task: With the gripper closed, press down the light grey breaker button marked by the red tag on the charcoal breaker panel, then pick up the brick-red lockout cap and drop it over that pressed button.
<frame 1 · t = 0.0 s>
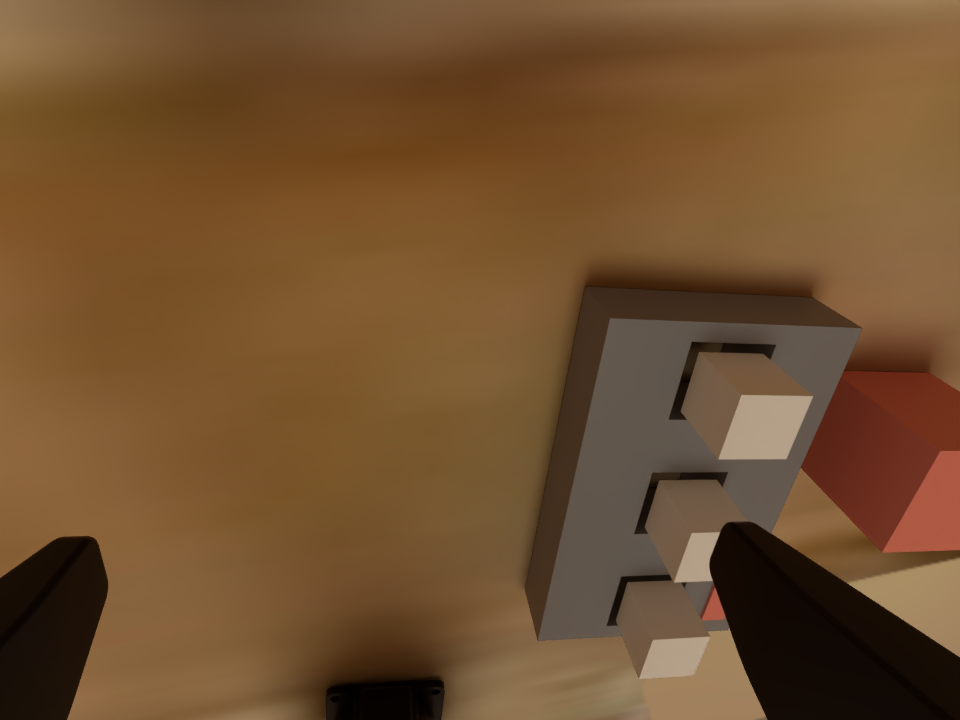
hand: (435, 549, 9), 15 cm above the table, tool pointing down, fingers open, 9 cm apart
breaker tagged: (660, 627, 27), point 4 cm above the table, slide at 0.0 cm
breaker panel: (652, 460, 28), on the table
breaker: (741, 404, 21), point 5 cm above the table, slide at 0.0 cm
lockout cap: (859, 417, 28), on the table
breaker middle: (696, 529, 24), point 5 cm above the table, slide at 0.0 cm
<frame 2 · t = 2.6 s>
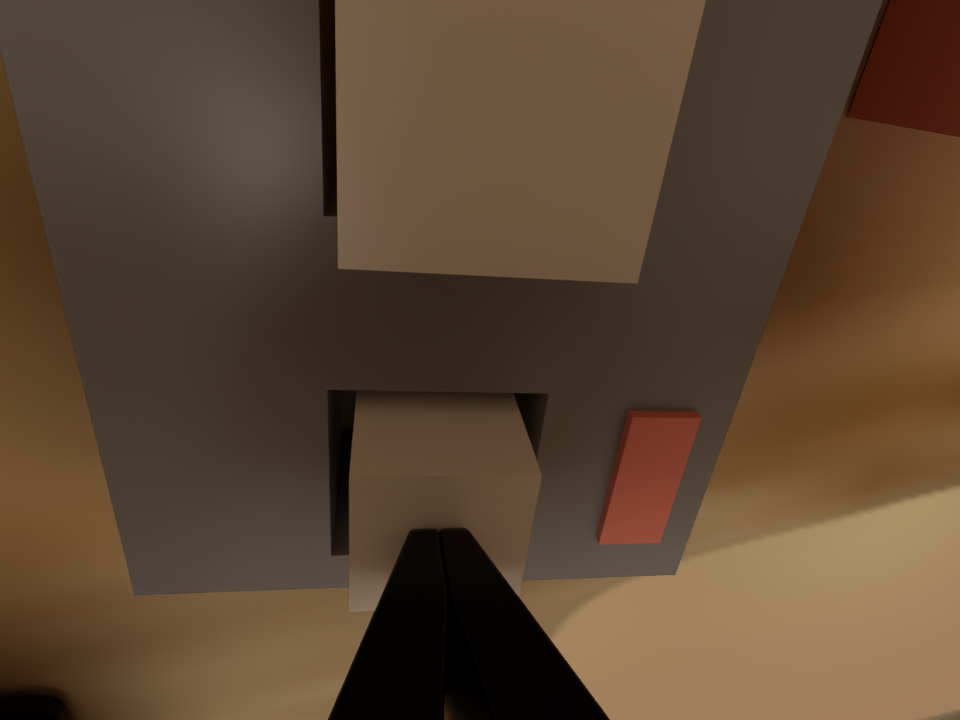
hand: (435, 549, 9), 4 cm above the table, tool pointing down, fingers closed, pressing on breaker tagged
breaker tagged: (434, 479, 10), point 3 cm above the table, slide at 1.5 cm, touching gripper
breaker panel: (446, 70, 10), on the table
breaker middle: (485, 95, 6), point 4 cm above the table, slide at 0.0 cm
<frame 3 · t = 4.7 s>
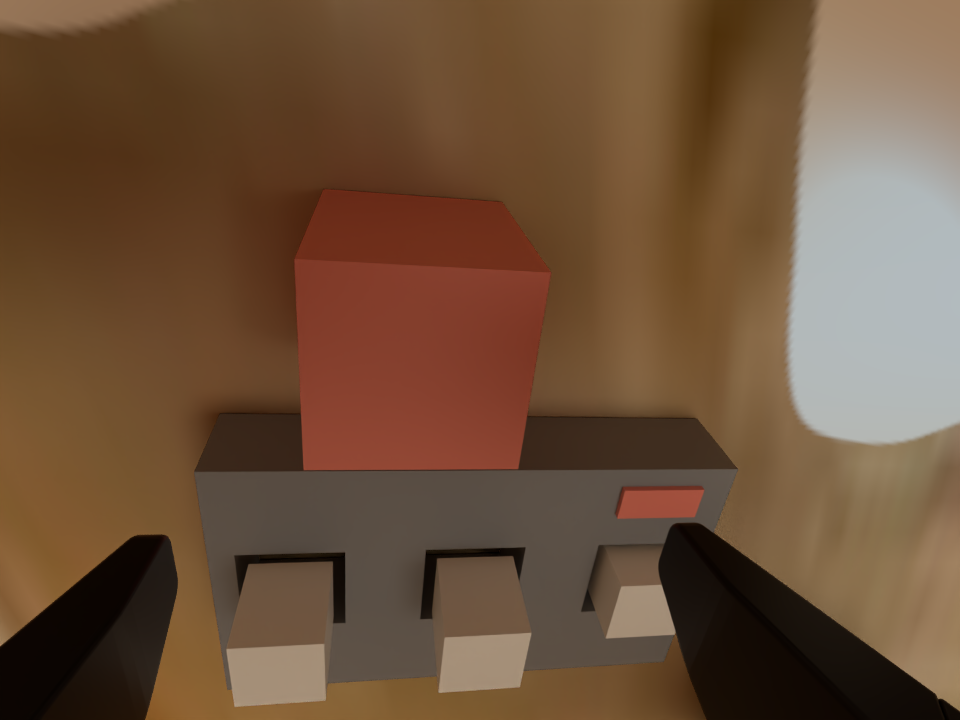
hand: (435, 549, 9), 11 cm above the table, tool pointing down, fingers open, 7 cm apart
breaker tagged: (633, 577, 22), point 3 cm above the table, slide at 1.6 cm
breaker panel: (462, 522, 23), on the table
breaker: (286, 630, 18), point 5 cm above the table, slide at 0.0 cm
lockout cap: (410, 279, 18), on the table
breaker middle: (477, 621, 19), point 5 cm above the table, slide at 0.0 cm
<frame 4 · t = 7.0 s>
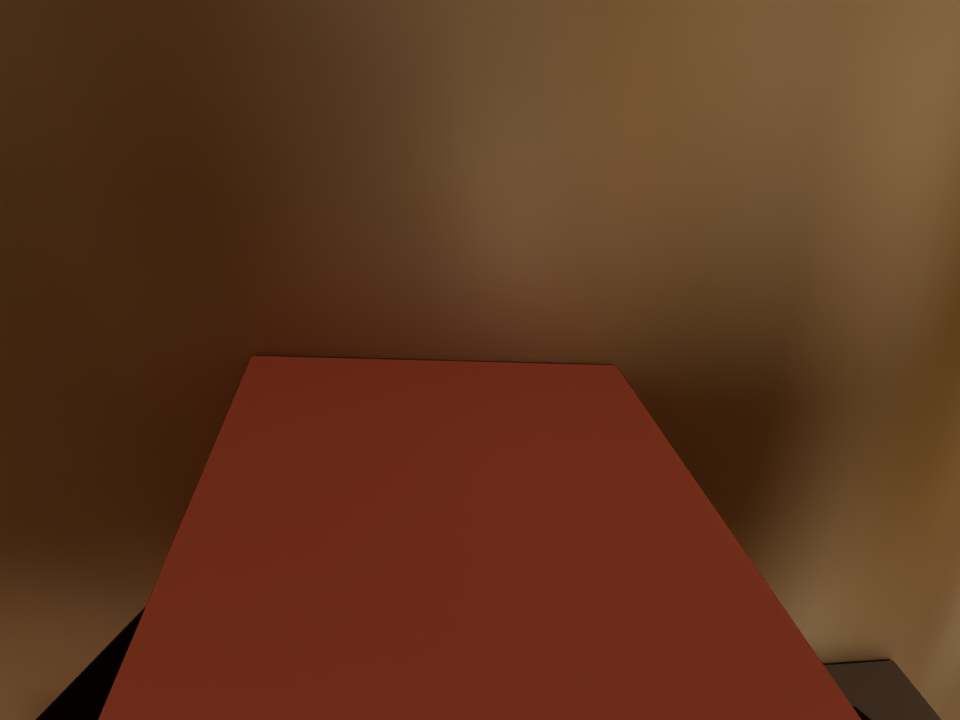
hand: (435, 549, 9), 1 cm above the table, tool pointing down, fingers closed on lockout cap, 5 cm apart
lockout cap: (431, 500, 9), on the table, touching gripper
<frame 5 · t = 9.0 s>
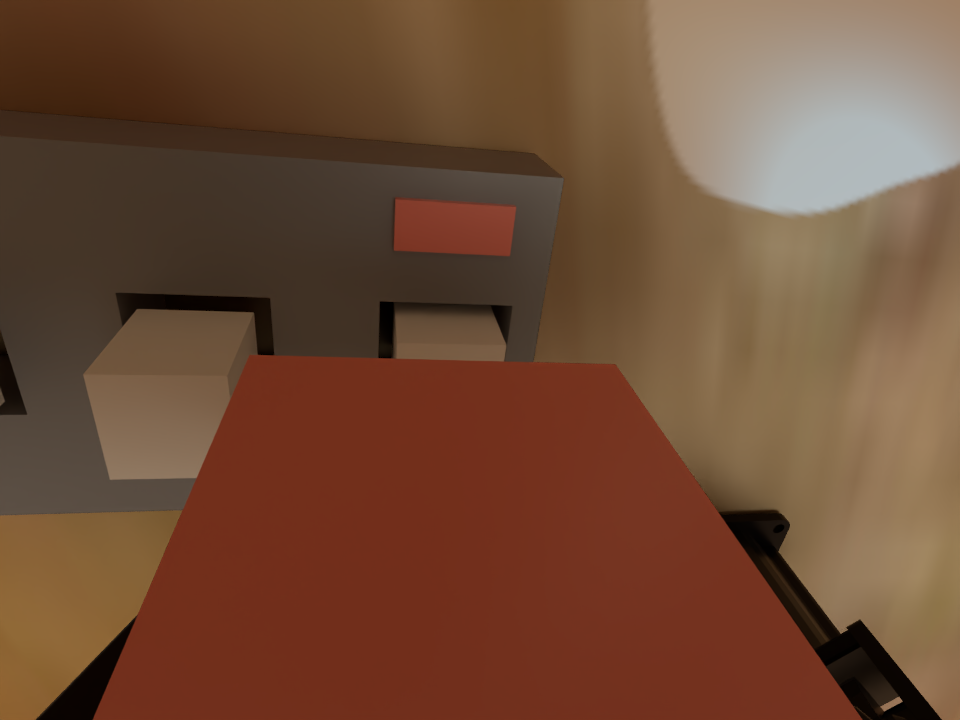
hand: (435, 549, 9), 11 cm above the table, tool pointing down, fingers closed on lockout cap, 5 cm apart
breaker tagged: (442, 360, 16), point 3 cm above the table, slide at 1.6 cm
breaker panel: (228, 308, 17), on the table
lockout cap: (430, 500, 9), point 10 cm above the table, touching gripper
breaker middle: (186, 390, 13), point 4 cm above the table, slide at 0.0 cm
when the fingers open (5 cm above the table, at t = 11.0 s): lockout cap drops 1 cm, resting on breaker panel.
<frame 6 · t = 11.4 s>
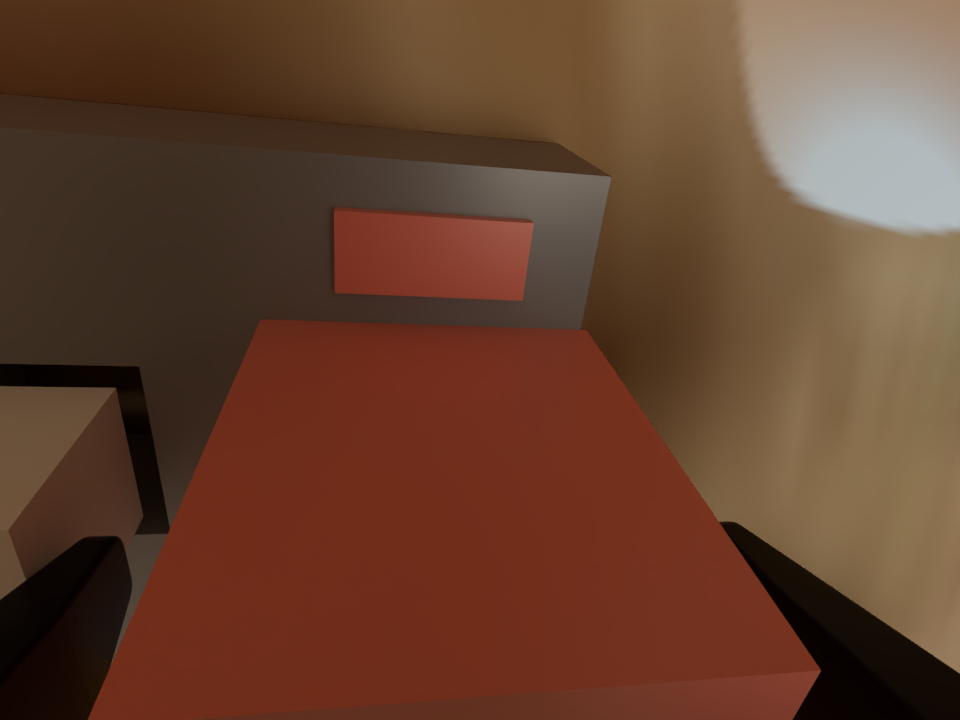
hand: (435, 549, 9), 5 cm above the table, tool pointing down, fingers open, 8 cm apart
breaker panel: (115, 365, 12), on the table
lockout cap: (422, 455, 10), point 3 cm above the table, touching breaker panel
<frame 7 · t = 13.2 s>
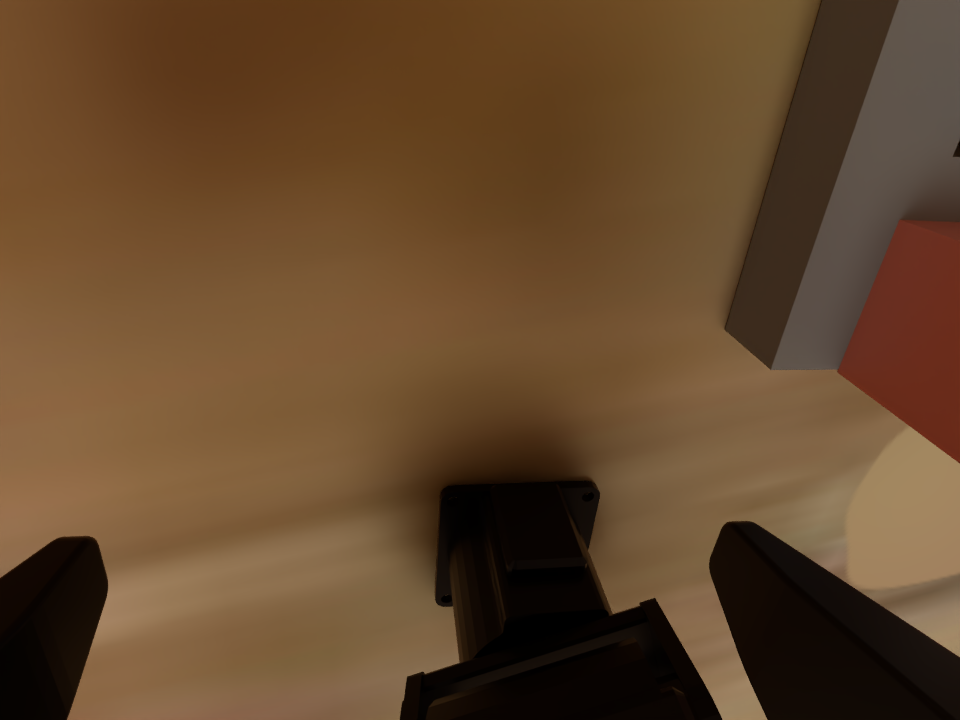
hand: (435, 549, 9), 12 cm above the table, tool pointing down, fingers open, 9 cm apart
breaker panel: (944, 86, 19), on the table
lockout cap: (937, 302, 19), point 3 cm above the table, touching breaker panel
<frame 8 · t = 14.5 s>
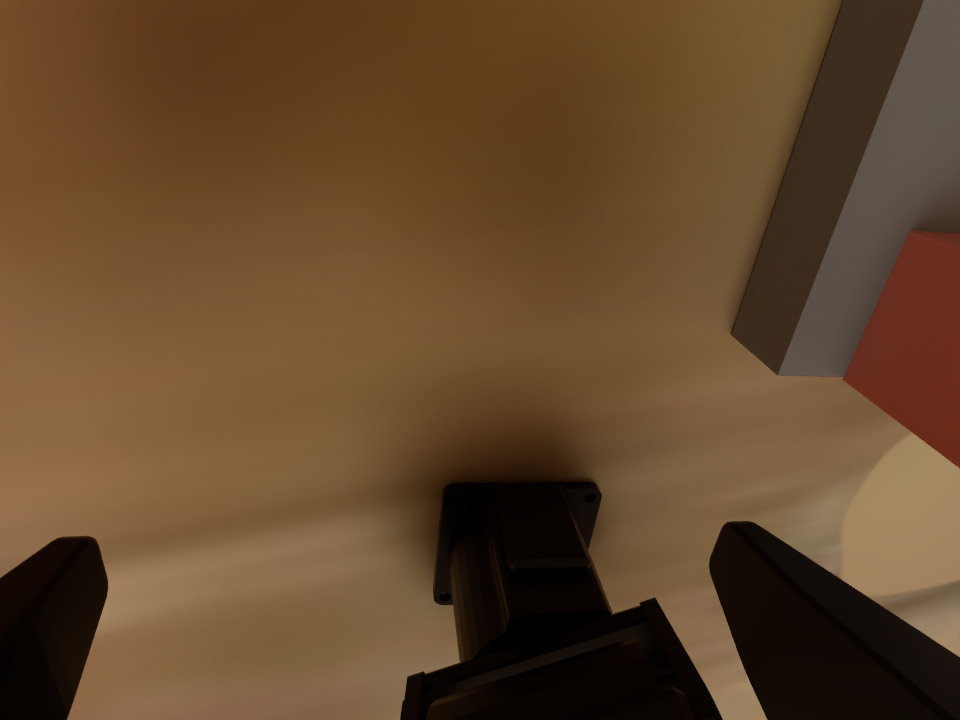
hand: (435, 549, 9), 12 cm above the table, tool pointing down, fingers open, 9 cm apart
breaker panel: (955, 100, 19), on the table
lockout cap: (943, 312, 19), point 3 cm above the table, touching breaker panel
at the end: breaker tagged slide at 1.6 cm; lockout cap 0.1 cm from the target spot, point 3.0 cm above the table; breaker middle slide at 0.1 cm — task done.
